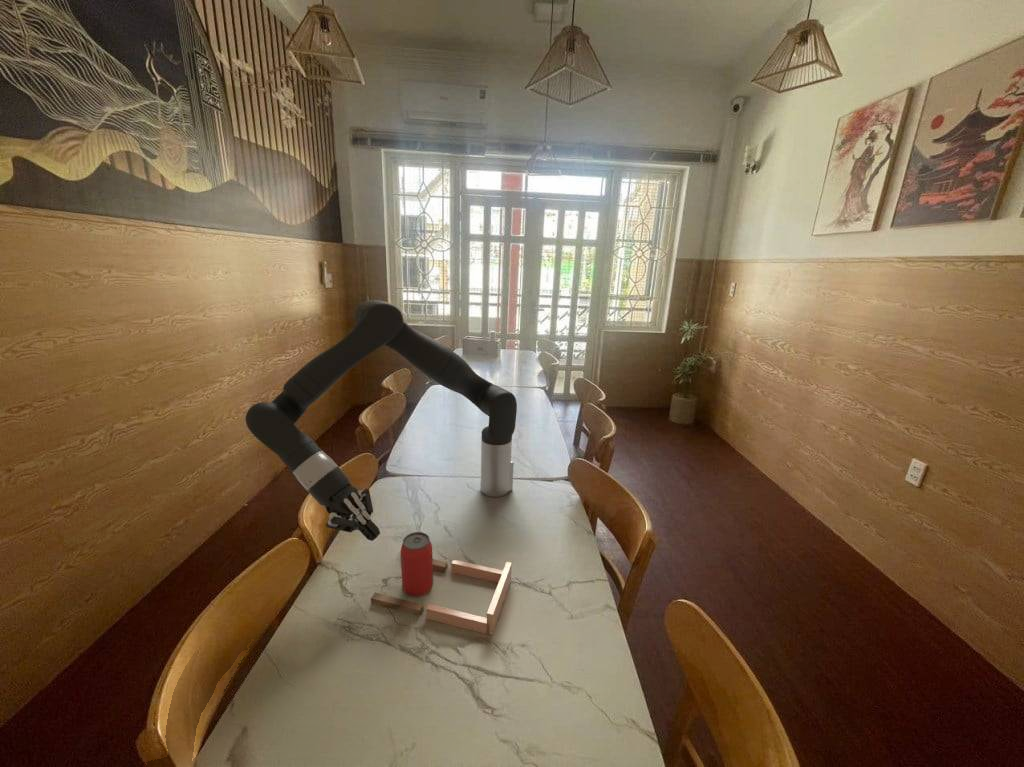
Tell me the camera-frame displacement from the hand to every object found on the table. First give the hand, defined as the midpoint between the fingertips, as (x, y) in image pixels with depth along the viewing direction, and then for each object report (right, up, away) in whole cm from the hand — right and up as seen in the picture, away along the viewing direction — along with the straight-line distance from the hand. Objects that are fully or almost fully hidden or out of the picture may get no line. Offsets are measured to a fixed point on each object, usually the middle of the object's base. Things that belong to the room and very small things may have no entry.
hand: (376, 537), depth 88 cm
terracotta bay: (+20, -13, -1) cm, 24 cm away
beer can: (+9, -12, +2) cm, 15 cm away
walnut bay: (+7, -11, +2) cm, 13 cm away
